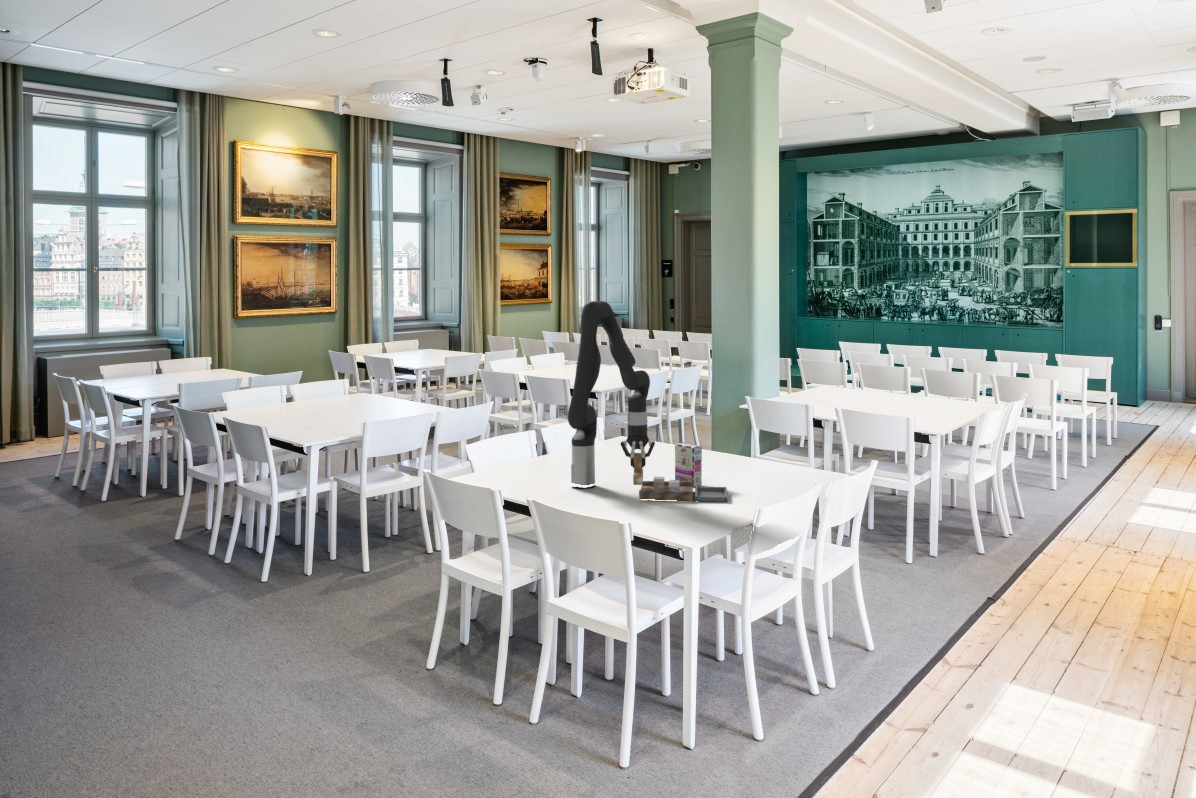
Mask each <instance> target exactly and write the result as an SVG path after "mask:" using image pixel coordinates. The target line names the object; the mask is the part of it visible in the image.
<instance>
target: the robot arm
mask: <svg viewBox="0 0 1196 798" xmlns="http://www.w3.org/2000/svg"><path fill="white" fill-rule="evenodd" d="M580 324H581V325H580V329H581V330H580V340H579V349H578V356H577V360H576V367H575V368H576V369H575V377H574V384H573V391H572V396H571V400H570V403H569V407H568V411H567V422H568V424H569V426H570V427H571V428H572V429H574V430H576V432H575V433H574V435H573V436H572V437H571V464H570V469H571V470H570V473H571V474H570V476H571V483H575V484H580V485H590V484H594V483H595V484H596V460H595V458H596V457H595V456H596V451H595V447H596V446H595V440H596V438H597V433H598V432H597V429H598V428H597V427H598V425H597V424H598V418H597V417H598V416H597V412H596V410H595V408H594V406H592V405H591V404H589V399H590V395H591V393H592V390H593V389H594V387H595V385H596V383H597V380H598V379H599V375H600V370H601V365H602V357H601V352H600V349H599V346H598V342H597V333H598V327H599V326H601V327H602V328H603V330H604V331H605V332H606V335H607V337H608V344H609V351H610V354H611V356H612V358H613V360H614V362H615V364H616V365H617V367H618V369H619V374H620V378H621V380H622V384H623V385H624V387H626V388H627V390H629V391H633V394H632V395H630V396H629V397H628V398H627V438H626V440H622V441H621V442H620V446H621V449H622V450H623V452H624V455H625V456H626V457H628V458H630V466H631V467H632V468H633V469H634V453H636V452H635V451H636V450H640V453H641V454H642V468H643V469H644V467H645V466H646V458H649V457H650V456H651V454H652V451H653V449H654V447H655V445H656V442H655V441H654V440H650V439H649V437H648V436H649V435H648V414H647V399H648V395H649V391H650V384H651V380H650V376H649V374H648V373H647V371H645V370H643V369H642V370H634V366H635V365H636V363H637V361H636V359H635V357H634V354H633V353H632V352H631V349H630V347H629V346H628V344H627V342H626V341H625V338H624V337H623V334H622V331H621V327H619V323H618V321H617V318H616V316H615V313H614V311H613V308H612V306H611V305H610V304H609V303H608V302H606V301H603V300H597V301H596V300H593V301H591V300H590V301H588V302H586V303H585V304H584V306H583V307H582V312H581V322H580ZM647 444H648V446H649V448H648V450H647V452H646V450H645V447H646V446H647ZM628 445H629V446H630V448H631V451H630V452H629V450H628V448H627V446H628Z"/></svg>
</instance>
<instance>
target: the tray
mask: <svg viewBox="0 0 1196 798" xmlns="http://www.w3.org/2000/svg"><path fill="white" fill-rule="evenodd" d="M694 491H695V492H694V502H695V501H698V502H697V503H728V491H727V486H698V487H694Z"/></svg>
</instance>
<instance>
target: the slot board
mask: <svg viewBox="0 0 1196 798" xmlns="http://www.w3.org/2000/svg"><path fill="white" fill-rule="evenodd" d="M640 486H641V488H640V489H639V490H638V500H639V499H655V500H677V501H692V502H693V496H694V487H693V482H682V481H680V491H669V480H664V489H654V480H643V481H642V484H641V485H640Z"/></svg>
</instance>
